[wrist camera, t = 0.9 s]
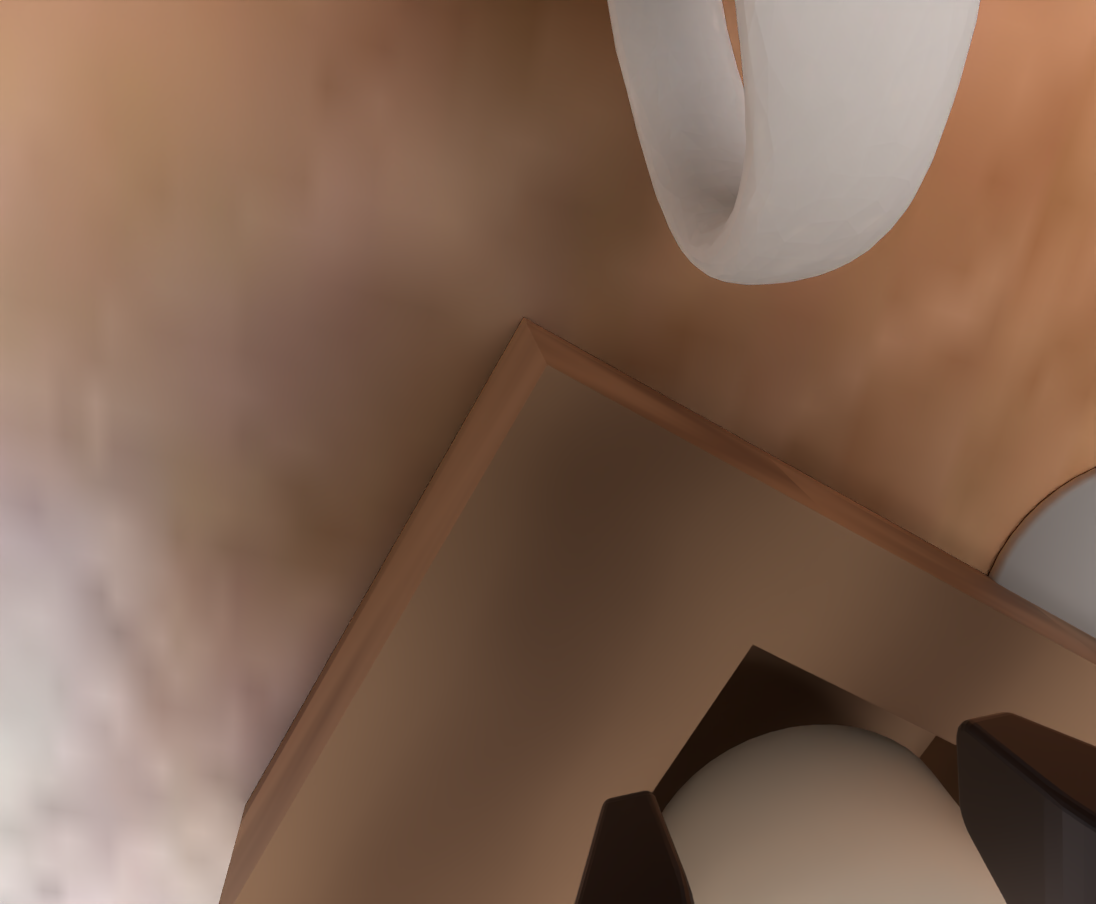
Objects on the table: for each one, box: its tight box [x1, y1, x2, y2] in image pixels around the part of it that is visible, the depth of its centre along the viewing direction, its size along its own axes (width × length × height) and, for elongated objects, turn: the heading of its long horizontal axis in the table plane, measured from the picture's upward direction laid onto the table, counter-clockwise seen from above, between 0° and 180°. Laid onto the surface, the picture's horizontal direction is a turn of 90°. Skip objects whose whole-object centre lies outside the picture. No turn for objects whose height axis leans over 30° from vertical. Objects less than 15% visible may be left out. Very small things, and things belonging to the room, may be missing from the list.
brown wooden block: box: [219, 317, 1096, 904], centre depth 21 cm, size 18×12×4 cm, turn 60°
